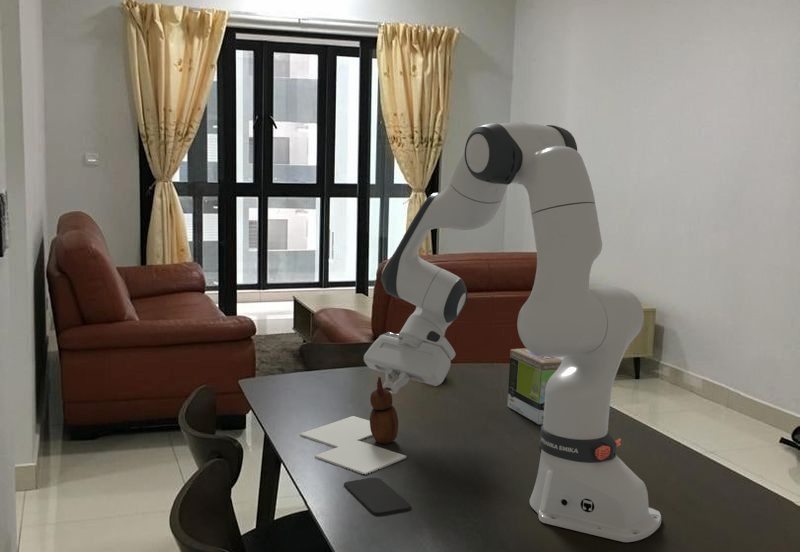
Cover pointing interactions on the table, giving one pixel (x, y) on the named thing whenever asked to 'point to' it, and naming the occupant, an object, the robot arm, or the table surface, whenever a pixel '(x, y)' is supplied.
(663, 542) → the table surface
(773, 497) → the table surface
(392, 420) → the wooden figurine
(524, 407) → the tea box
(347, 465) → the mat side
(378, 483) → the phone
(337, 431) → the mat front
